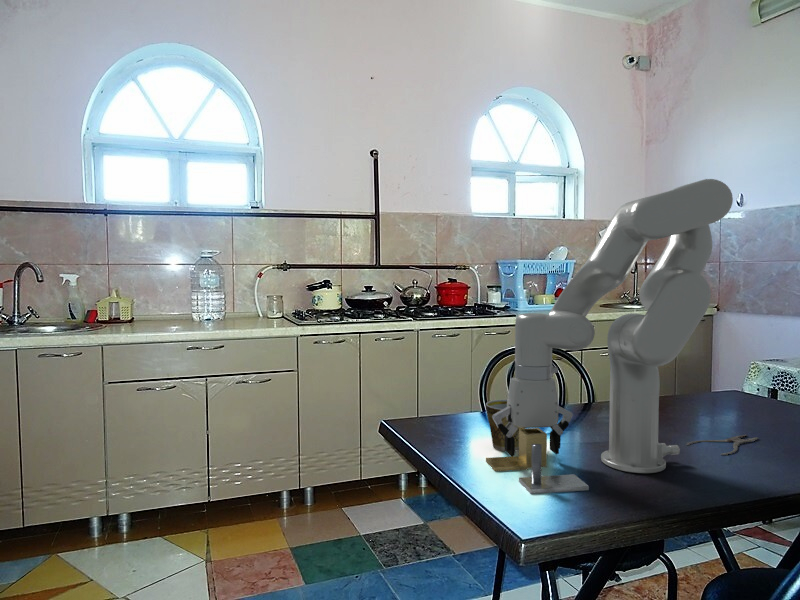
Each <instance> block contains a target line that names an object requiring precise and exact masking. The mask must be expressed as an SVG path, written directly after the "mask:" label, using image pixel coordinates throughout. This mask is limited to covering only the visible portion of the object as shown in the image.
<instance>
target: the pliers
mask: <svg viewBox="0 0 800 600" xmlns="http://www.w3.org/2000/svg"><path fill="white" fill-rule="evenodd" d="M745 436H747V437H748V435H747V434H741V435H736V436H731V437H729V438H728V437H727V438H726V439H701V440H692V441H690V442H686V444H685V446H686V445H688V446H691V445H693V443H695V444H699V443H698V442H729V443H733V442H734V443H733V444H732V448H734V449H733V450H731V451H729V452H723V453H720V456H721V455H726V456H729V455H728V454H731V455H733V454H732V453H734V454H736V453H737V452H738V451H739V447H740V446H741V445H740V444H742V443H745V444H747V443H746V442H752V441H755V440H757V439H758V440H759V437H752V438H749V437H748V438H747V437H745ZM743 437H745V438H747V439H745V438H743ZM740 438H743V439H740ZM758 440H757V441H758ZM755 442H756V441H755ZM690 444H691V445H690ZM742 445H743V444H742ZM738 446H739V447H738ZM737 450H738V451H737ZM736 451H737V452H736ZM735 452H736V453H735Z"/></svg>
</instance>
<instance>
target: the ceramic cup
mask: <svg viewBox="0 0 800 600" xmlns="http://www.w3.org/2000/svg"><path fill="white" fill-rule="evenodd" d="M506 407H507V399H493V400H490V401H488V402H486V403H485V410H486V416H487V420H488V423H489V424H488V425H489V431H490V436H491V442H492V446H493V447H492V448H493V449H494V448H495V450H498V451H501V452H505V434H504V433H503V432H502V431H501V430H500V429H499V428H498V427H497V426H496V424H495V422H494V420H493V418H492V416H493V414H495V413H497V412H499V411H500V410H502V409H504V408H506ZM501 421H502V423H503V425H504V426H506V425H507V424H508V423H509V422H508V421H507V418H506V417H504V418H502V420H501ZM519 429H526V428H518V429H517V430H516V432H515V433H514V434H513V437H514V438H515V452H519ZM506 453H507V451H506Z"/></svg>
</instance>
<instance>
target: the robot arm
mask: <svg viewBox="0 0 800 600" xmlns="http://www.w3.org/2000/svg"><path fill="white" fill-rule="evenodd" d="M733 199H734V198H733V193H732V189H730V187H729V186H728V185H727V184H726V183H725V182H723V181H722V180H718V179H715V178H705V179H702V180H698V181H693V182H690V183H687V184H684V185H681V186H678V187H676V188H674V189H671V190H669V191H664V192H661V193H657V194H653V195H650V196H644V197H642V198H638V199H636V200H631V201H629V202H626V203H624V204H623V205H621V206H620V207H619V208H618V209H617V210H616V211H615V213H614V214H613V216H612V218H611V219H610V221H609V223H608V224H607V226H606V228H605V229H604V231H603V233H602V235H601V236H600V238H599V240H598V242H597V243H596V244H595V246H594V247H593V250H592V251H591V253H590V255H589V256H588V258H587V260H586V261H585V263H584V264H583V265H582V266H581V268H579V270H578V271H577V272H576V273H575V274H574V276H573V277H572V278H571V280H570V281H568V283H567V284H566V286H565V287H564V289H563V290H561V291H562V292H561V293H560V294H559V296H558V297H557V298H556V301H555V303H554V304H553V306H552V307H551V309H550V311H549V313H548V314H546V313H540V312H539V313H536V312H534V313H531V312H530V313H529V312H528V313H520V314H519V315H517V317H516V318H515V323H514V327H515V328H514V330H515V331H514V332H515V333H514V338H515V340H514V349H515V350H514V377H511V378H510V379H509V380H510V381H509V386H508V392H507V399H506V400H507V407H506V408H504V409H502V410H500V411H499V412H497V413H495V414H493V416H492V418H493V420H494V422H495V424H496V426H497V427H498V428H499V429H500V430H501V431H502V432H503V433H504V434H505V451H507V452H506V453H507V454H508V455H509V457H511V456H516V451H515V438H514V437H513V434H514V433H515V432H516V430H517V429H518V428H525V429H526V428H539V429H540V428H550V429H551V431H550V432H549V450H550V451H551V452H552V453H553V454H555V455H559V454H560V449H561V439H562V438H561V435H563V434H564V431H565V430H566V429H567V428H568V427H569V426H570V424H569V423H570V422H571V420H572V418H573V416H574V414H573V412H571V411H570V410H567V409H565V408H563V407H561V406H559V399H558V391H557V386H556V381H555V379H554V378H553V375H554V374H556V373H558V372H559V368H558V366H554V364H553V349H559V350H567V351H580V350H584V349H586V348H587V347H588V346H591V344H592V342H593V340H594V338H595V335H596V334H595V328H594V325H593V323H592V322H591V321H590V320H589V319H588V318H587V317H586V316H588V314H589V312H590V311H591V309H592V308H593V307H594V306H595V304H597V302H598V301H599V300H600V299H602V297H604V296H605V295H607V294H608V293H610V292H612V291H613V290H615V289H617V288H618V287H619V286H620V285H622V284H623V283H624V282H625V281H626V279H627V278H628V276H629V274H630V272H631V270H632V269H633V267H634V266H635V264H636V263H637V260H638V259H639V258H640V255H641V254H642V252H643V251H644V249H645V247H646V245H647V244H648V242H649V241H655V240H656V241H657V240H660V239H665V238H668V239H667V243H666V245H665V247H664V249H663V251H662V253H661V255H660V256H659V258H658V260H657V261H656V262H655V264H654V266H653V267H652V268H651V270H650V272H649V273H648V274H647V276H646V278H645V279H644V281H643V283H642V284H641V286H640V289H639V293H638V294H639V295H638V296H639V297H638V298H639V302H640V304H641V305H642V307H643V308H644V309H646V310H647V311H646V312H645V314H641V313H626V314H623V315H621V316H619V317H617V318H615V319H614V321H613V322H612V323H611V325H610V326H609V329H608V332H607V339H606V340H607V343H606V344H607V349H608V350H607V351H608V360H609V371H610V372H609V373H610V374H609V380H610V381H609V383H610V384H609V425H608V427H609V428H608V429H609V430H608V431H609V432H608V437H609V438H608V441H609V442H608V450H605V451H603V452H602V453H601V455H600V459H601V462H602V463H603V464H604V465H606V466H608V467H610V468H612V469H614V470H615V469H616V470H618V471H623V472H627V473H635V474H655V473H659V472H662V471H664V470H665V469H666V467H667V462H666V459H664V457H666V456H667V455H670V456H673V455H680V452H681V449H680V446H679V445H677V444H673V445H671V444H670V445H667V444H666V443H665V442H659V422H660V421H659V414H660V411H659V410H660V408H659V407H660V406H659V405H660V373H659V367H663V366H666V365H667V364H669V363H671V362H672V361H673V360H675V359H676V358H677V356H678V355H679V354H680V353H681V352H682V351H683V349H684V348H685V345H686V344H687V342H688V341H689V339H690V338H691V336H692V335H693V333H694V332H695V330H696V328H697V327H698V325H699V324H700V322H701V321H702V319H703V318H704V316H705V314H706V313H707V310H708V309H709V306H710V302H711V297H712V292H711V286H710V284H709V281H708V280H707V279H706V278H705V276H703V275H702V274H703V271H704V269H705V268H706V266H707V264H708V262H709V260H710V258H711V255H712V252H713V237H712V232H711V231H712V230H711V228H710V224H714V223H716V222H719V221H720V220H722V219H724V218H725V216H727V215H728V213H729V212H730V210H731V208H732V206H733V202H734V200H733ZM560 414H561V415H562V419H561V420H560V421H559V417H560V416H559V415H560ZM504 417H506V418H507V421H508V422H509V423H508V424H507V425H506V426H504V425H503V423H502V421H501V420H502V418H504ZM505 451H504V452H505Z"/></svg>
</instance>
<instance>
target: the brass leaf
mask: <svg viewBox="0 0 800 600" xmlns="http://www.w3.org/2000/svg"><path fill="white" fill-rule="evenodd" d="M547 439H548V434H547V432H545V431H544V430H542V429H541V428H540V427H539V428H525V429H519V450H518V455H514V456H498V457H497V456H496V457H495V456H494V457H486V458H485V462H486V464H488V466H489V465H490V466H491V467H492V468H491V467H490V466H489V467H490V468H491V469H492V470H493V472H509V470H512V471H527V470H529V469H532V444H541V445H542V455H541V468H547V462H548V461H547V458H548V457H547V456H548V455H547V453H548V448H547V445H548V440H547ZM526 469H527V470H526Z"/></svg>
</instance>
